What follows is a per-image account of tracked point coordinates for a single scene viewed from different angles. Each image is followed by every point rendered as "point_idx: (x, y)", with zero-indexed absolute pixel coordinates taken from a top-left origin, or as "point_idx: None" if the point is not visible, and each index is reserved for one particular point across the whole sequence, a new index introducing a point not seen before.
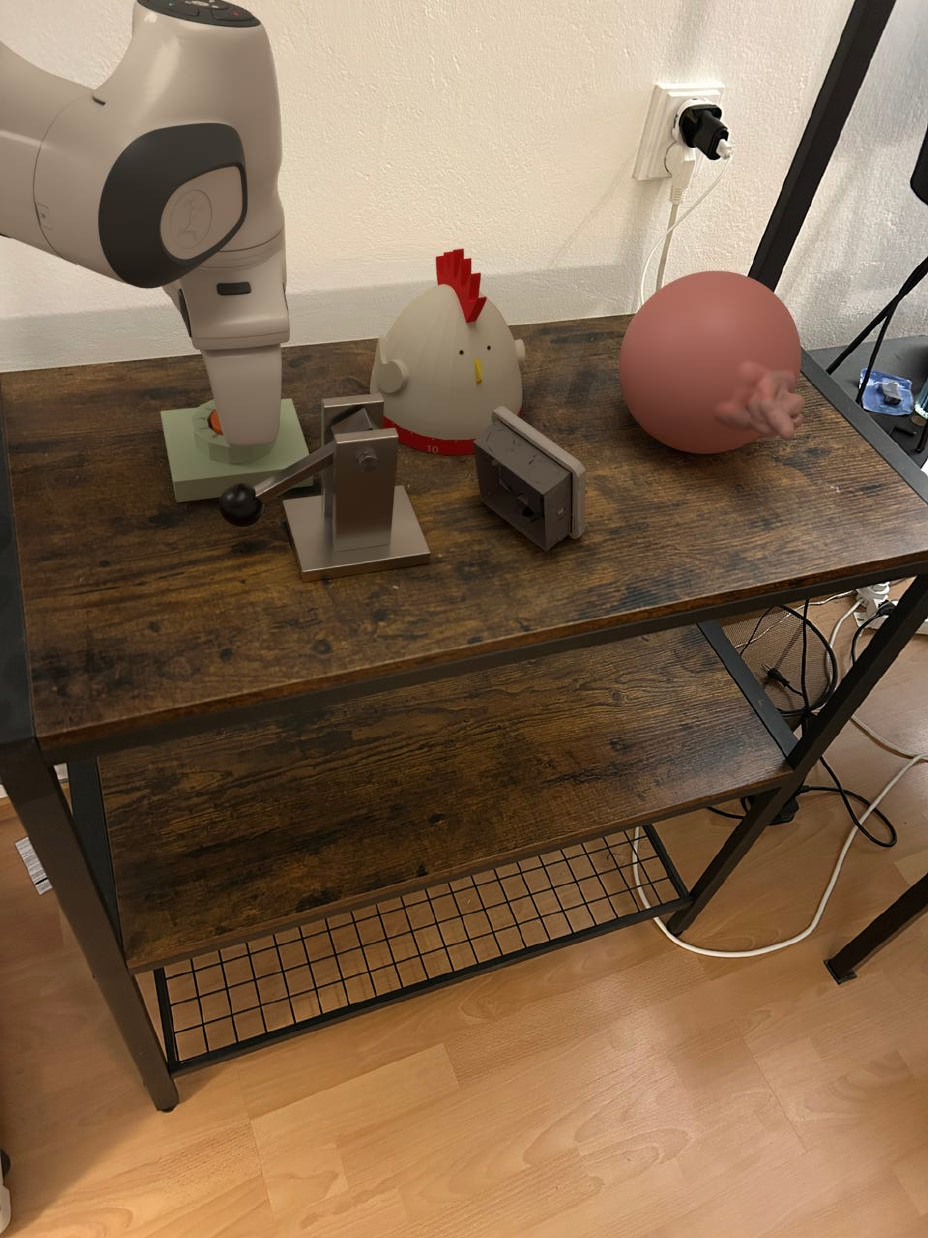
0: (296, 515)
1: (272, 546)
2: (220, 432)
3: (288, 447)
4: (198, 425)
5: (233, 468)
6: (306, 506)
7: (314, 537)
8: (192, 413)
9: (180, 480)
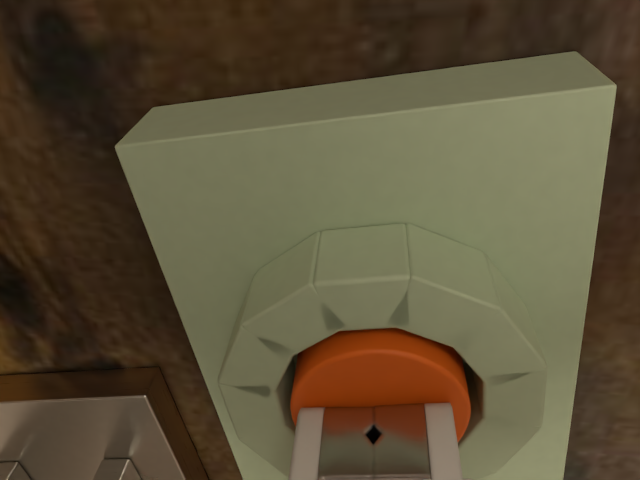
0: (92, 415)
1: (29, 335)
2: (307, 362)
3: None
4: (349, 299)
5: (216, 328)
6: (130, 434)
7: (28, 435)
8: (556, 219)
9: (126, 171)
